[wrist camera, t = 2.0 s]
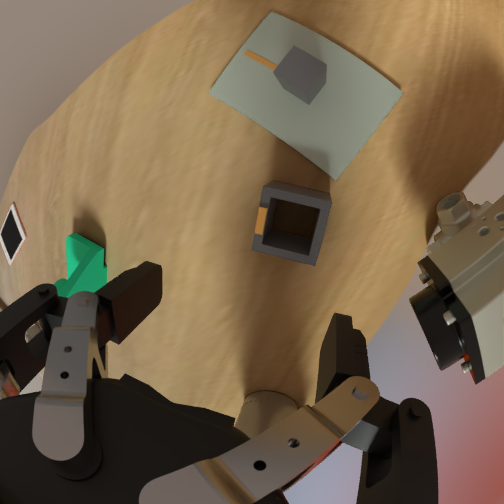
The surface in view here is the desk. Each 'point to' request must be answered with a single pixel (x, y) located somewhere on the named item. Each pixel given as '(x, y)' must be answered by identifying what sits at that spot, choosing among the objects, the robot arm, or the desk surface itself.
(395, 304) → the desk surface
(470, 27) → the desk surface
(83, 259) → the camera mount
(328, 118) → the grey base with post
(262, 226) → the grey open box
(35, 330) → the lighter
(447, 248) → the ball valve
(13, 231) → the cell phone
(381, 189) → the desk surface
